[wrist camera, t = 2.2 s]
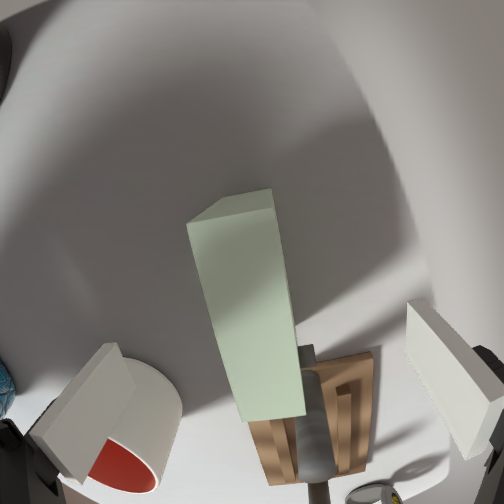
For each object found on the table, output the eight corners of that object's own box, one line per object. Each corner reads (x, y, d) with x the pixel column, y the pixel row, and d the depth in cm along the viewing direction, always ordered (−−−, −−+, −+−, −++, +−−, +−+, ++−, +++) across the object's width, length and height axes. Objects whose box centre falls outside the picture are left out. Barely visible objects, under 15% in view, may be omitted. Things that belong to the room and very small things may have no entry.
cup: (163, 346, 26) (121, 426, 16) (199, 423, 28) (179, 499, 19) (80, 353, 27) (29, 414, 17) (120, 422, 29) (88, 485, 20)
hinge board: (235, 371, 26) (218, 472, 15) (370, 349, 24) (412, 442, 14) (269, 480, 31) (267, 551, 20) (363, 466, 30) (378, 535, 19)
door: (222, 197, 22) (185, 224, 12) (284, 185, 21) (297, 203, 12) (252, 332, 25) (242, 422, 15) (306, 324, 24) (323, 412, 15)
